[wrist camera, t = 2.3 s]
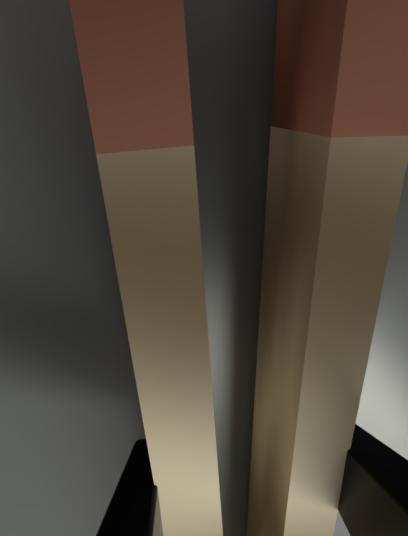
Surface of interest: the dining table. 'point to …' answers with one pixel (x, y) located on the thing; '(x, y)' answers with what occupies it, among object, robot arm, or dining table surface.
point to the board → (106, 280)
